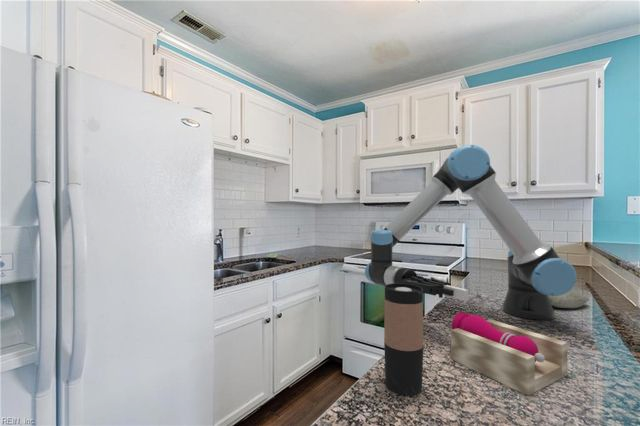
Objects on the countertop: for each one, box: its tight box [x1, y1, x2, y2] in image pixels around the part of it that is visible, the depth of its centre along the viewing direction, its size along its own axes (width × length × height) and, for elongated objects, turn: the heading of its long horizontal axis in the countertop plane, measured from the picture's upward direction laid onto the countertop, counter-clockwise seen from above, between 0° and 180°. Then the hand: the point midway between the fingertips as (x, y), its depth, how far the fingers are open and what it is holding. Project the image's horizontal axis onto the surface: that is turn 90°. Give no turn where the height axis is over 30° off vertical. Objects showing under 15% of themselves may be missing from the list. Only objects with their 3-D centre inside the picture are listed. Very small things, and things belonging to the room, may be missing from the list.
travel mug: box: [383, 283, 424, 397], centre depth 61 cm, size 8×8×20 cm
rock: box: [548, 289, 590, 309], centre depth 117 cm, size 8×11×20 cm
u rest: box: [450, 318, 569, 397], centre depth 69 cm, size 17×16×7 cm
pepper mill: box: [451, 311, 545, 362], centre depth 70 cm, size 7×7×20 cm
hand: (466, 295), depth 78 cm, fingers closed
